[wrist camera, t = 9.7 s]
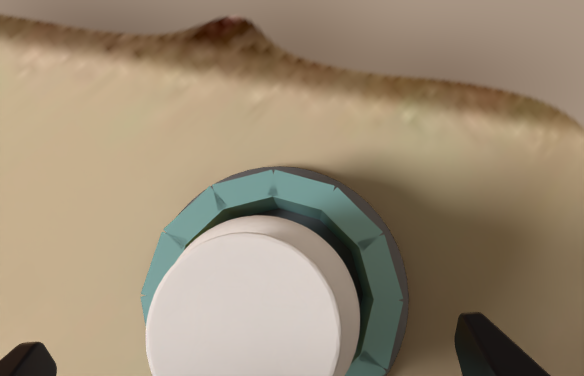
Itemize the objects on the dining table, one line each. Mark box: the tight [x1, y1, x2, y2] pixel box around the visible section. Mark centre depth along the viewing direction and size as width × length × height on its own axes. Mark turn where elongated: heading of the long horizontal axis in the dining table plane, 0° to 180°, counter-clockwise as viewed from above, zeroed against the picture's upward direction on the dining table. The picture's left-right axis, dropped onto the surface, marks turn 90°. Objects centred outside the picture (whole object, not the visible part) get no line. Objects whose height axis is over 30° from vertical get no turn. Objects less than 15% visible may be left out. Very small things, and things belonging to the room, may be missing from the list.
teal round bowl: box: [141, 166, 409, 376], centre depth 17 cm, size 11×11×4 cm
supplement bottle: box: [146, 215, 360, 376], centre depth 13 cm, size 5×5×10 cm
